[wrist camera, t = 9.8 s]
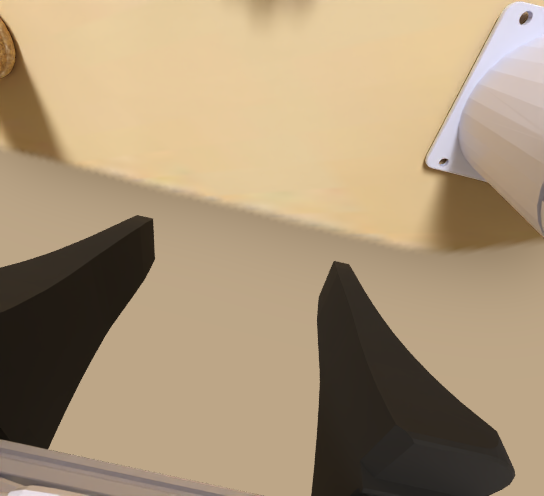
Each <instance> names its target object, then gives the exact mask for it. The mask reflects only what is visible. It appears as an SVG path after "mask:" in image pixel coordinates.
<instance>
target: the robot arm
mask: <svg viewBox="0 0 544 496" xmlns="http://www.w3.org/2000/svg"><path fill="white" fill-rule="evenodd" d="M524 12H528V19H527V20H526V22H525V23H524V24H522V25H521V24H520V23H519V19H520V16H521V15H522V14H523V13H524ZM443 158H447V160H446V162H445V163H444V164H439V161H440V160H441V159H443ZM425 163H426V164H427V165H428V167H430V168H433V169H437V170H441V171H445V172H449V173H453V174H457V175H461V176H465V177H469V178H473V179H477V180H481V181H485V182H488V183H489V184H490V185H491V186H492V187H493V188H494V189H495V190H496V191H497V192H498V193H499V194H500V195H501V196H502V197H503V198H504V199H505V200H506V201H507V202H508V203H509V204H510V205H511V206H512V207H513V208H514V209H515V210H516V211H517V212H518V213H519V214H520V215H521V216H522V217H523V218H524V219H525V220H526V221H527V222H528V223H529V224H530V225H531V226H532V227H533V228H534V229H535V230H536V231H537V232H538V233H539V234H540V235H541V236H542V237H543V238H544V7H542V6H538V5H534V4H530V3H526V2H513V3H511V4H509V5H508V6H507V7H505V8H504V10H503V11H502V13H501V14H500V16H499V18H498V20H497V22H496V24H495V26H494V28H493V30H492V32H491V33H490V35H489V37H488V39H487V41H486V43H485V45H484V47H483V49H482V51H481V53H480V54H479V56H478V58H477V60H476V62H475V64H474V66H473V68H472V70H471V72H470V74H469V75H468V77H467V79H466V81H465V83H464V85H463V87H462V89H461V91H460V93H459V95H458V96H457V98H456V100H455V102H454V104H453V106H452V108H451V110H450V112H449V114H448V116H447V117H446V119H445V121H444V123H443V125H442V127H441V129H440V131H439V133H438V135H437V137H436V138H435V140H434V142H433V144H432V146H431V148H430V150H429V152H428V154H427V156H426V158H425ZM154 260H155V253H154V230H153V219H152V218H147V217H143V216H139V215H137V216H134V217H132V218H130V219H127V220H125V221H123V222H121V223H119V224H117V225H114V226H112V227H110V228H108V229H106V230H104V231H102V232H99V233H97V234H95V235H93V236H91V237H88V238H86V239H84V240H81V241H79V242H77V243H74V244H71V245H69V246H66V247H64V248H62V249H59V250H56V251H54V252H51V253H48V254H46V255H42V256H39V257H36V258H33V259H30V260H27V261H23V262H20V263H17V264H13V265H9V266H5V267H1V268H0V496H262V495H258V494H253V493H248V492H244V491H239V490H234V489H230V488H225V487H220V486H216V485H211V484H206V483H201V482H197V481H192V480H188V479H183V478H178V477H174V476H169V475H164V474H159V473H155V472H150V471H146V470H141V469H136V468H132V467H127V466H122V465H118V464H113V463H108V462H104V461H99V460H94V459H90V458H85V457H80V456H76V455H71V454H66V453H62V452H57V451H52V450H48V448H49V446H50V444H51V441H52V439H53V437H54V435H55V433H56V431H57V428H58V426H59V424H60V422H61V420H62V418H63V415H64V413H65V411H66V409H67V407H68V405H69V403H70V401H71V399H72V397H73V395H74V393H75V391H76V389H77V387H78V385H79V383H80V381H81V379H82V377H83V375H84V374H85V372H86V370H87V368H88V366H89V364H90V362H91V360H92V359H93V357H94V355H95V353H96V351H97V350H98V348H99V346H100V344H101V342H102V341H103V339H104V337H105V335H106V334H107V332H108V331H109V329H110V328H111V326H112V325H113V323H114V322H115V321H116V319H117V318H118V316H119V315H120V313H121V312H122V311H123V309H124V308H125V307H126V305H127V304H128V302H129V301H130V300H131V298H132V297H133V295H134V294H135V293H136V291H137V290H138V288H139V287H140V285H141V284H142V283H143V281H144V279H145V278H146V276H147V274H148V272H149V270H150V268H151V266H152V264H153V262H154ZM317 328H318V346H319V347H318V348H319V366H320V391H319V411H318V427H317V440H316V452H315V465H314V475H313V485H312V494H311V496H489V495H491V494H493V493H495V492H498V491H500V490H502V489H503V488H505V487H506V486H508V485H510V483H511V482H512V480H513V479H514V477H515V471H514V468H513V466H512V463H511V461H510V459H509V457H508V455H507V452H506V450H505V448H504V446H503V444H502V441H501V439H500V437H499V435H498V433H497V431H496V430H494V429H493V428H492V427H491V426H490V425H488V424H487V423H486V422H485V421H483V420H482V419H481V418H480V417H478V416H477V415H476V414H474V413H473V412H472V411H471V410H470V409H468V408H467V407H466V406H465V405H464V404H462V403H461V402H460V401H459V400H458V399H457V398H456V397H455V396H453V395H452V394H451V393H450V392H449V391H448V390H447V389H446V388H445V387H443V386H442V385H441V384H440V383H439V382H438V381H437V380H436V379H435V378H434V377H433V376H432V375H431V374H430V373H429V372H428V371H427V370H426V369H425V368H424V367H423V366H422V365H421V364H420V363H419V362H418V361H417V360H416V359H415V358H414V357H413V355H412V354H411V353H410V352H409V351H408V350H407V349H406V348H405V346H404V345H403V344H402V343H401V342H400V340H399V339H398V338H397V337H396V336H395V334H394V333H393V332H392V330H391V329H390V328H389V327H388V325H387V324H386V322H385V321H384V320H383V318H382V317H381V315H380V314H379V313H378V311H377V310H376V308H375V307H374V305H373V304H372V302H371V300H370V299H369V297H368V296H367V294H366V293H365V291H364V289H363V288H362V286H361V284H360V282H359V281H358V279H357V277H356V275H355V274H354V272H353V271H352V268H351V267H350V265H349V264H345V263H340V262H336V261H334V262H333V265H332V267H331V269H330V272H329V274H328V276H327V279H326V281H325V284H324V286H323V288H322V291H321V293H320V296H319V302H318V315H317Z"/></svg>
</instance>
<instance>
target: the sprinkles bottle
mask: <svg viewBox="0 0 544 496" xmlns="http://www.w3.org/2000/svg"><path fill="white" fill-rule="evenodd" d="M14 63H15V49H14V44H13V41H12V38H11V36H10V33H9V32H8V30H7V28H6V26H5V24H4V22H3V21H2V20H1V18H0V78H2V77H5V76H6V75H8V74H9V73H10V72H11V71H12V67H14Z"/></svg>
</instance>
